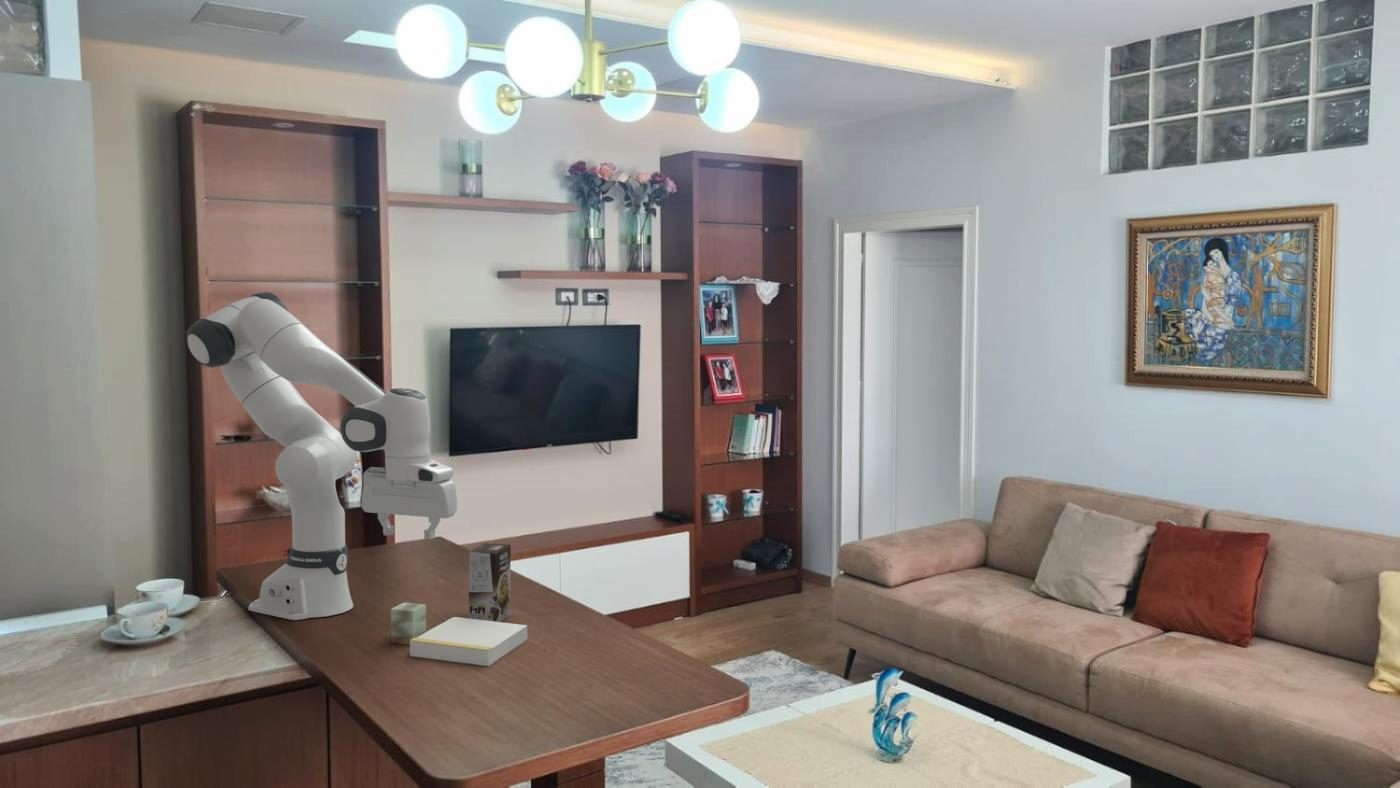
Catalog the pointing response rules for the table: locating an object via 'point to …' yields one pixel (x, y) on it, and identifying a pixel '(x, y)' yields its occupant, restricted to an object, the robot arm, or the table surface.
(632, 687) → the table surface
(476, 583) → the coffee box
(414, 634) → the pale green block
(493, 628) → the block
